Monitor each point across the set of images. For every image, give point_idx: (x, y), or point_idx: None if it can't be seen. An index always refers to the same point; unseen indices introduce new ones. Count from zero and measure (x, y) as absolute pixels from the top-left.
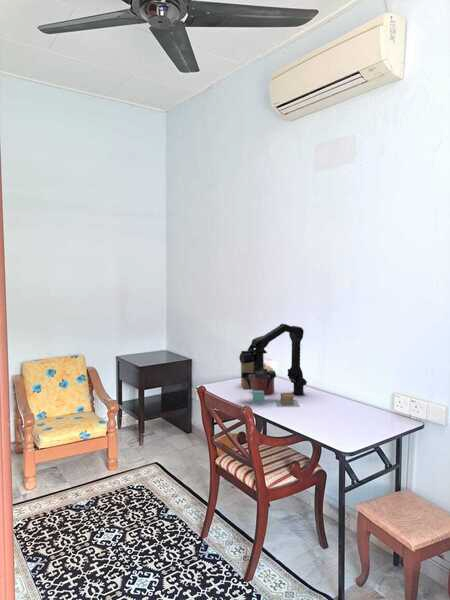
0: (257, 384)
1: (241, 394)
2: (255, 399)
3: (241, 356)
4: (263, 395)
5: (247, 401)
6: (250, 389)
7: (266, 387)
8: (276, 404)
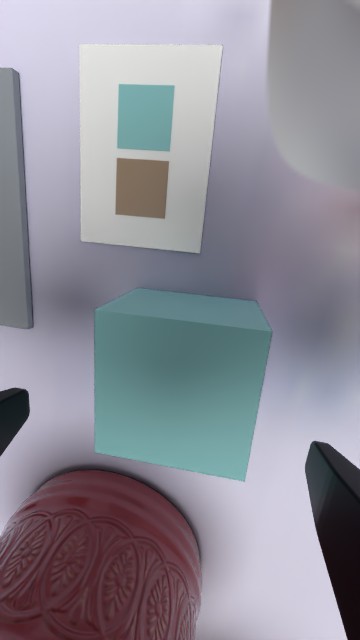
0: (139, 630)
1: (315, 553)
2: (232, 306)
3: None
4: (116, 304)
5: (313, 349)
6: (316, 442)
7: (5, 421)
8: (16, 172)
